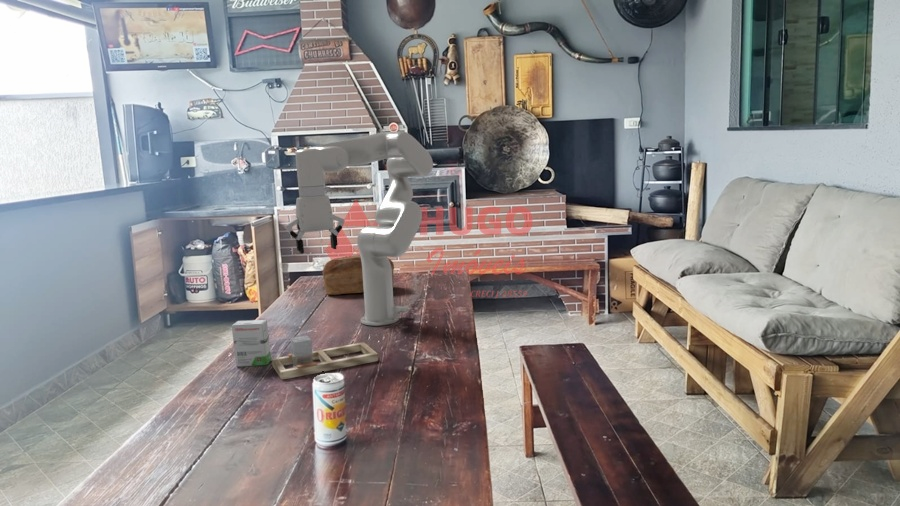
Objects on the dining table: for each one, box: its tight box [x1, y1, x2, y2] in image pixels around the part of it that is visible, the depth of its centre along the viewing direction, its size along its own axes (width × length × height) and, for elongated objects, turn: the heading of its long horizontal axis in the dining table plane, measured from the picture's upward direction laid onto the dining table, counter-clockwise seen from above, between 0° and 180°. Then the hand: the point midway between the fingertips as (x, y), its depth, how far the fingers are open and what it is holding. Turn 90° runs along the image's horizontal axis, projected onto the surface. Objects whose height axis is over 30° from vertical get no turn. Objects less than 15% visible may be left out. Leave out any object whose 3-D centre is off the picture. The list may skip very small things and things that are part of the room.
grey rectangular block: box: [289, 334, 314, 368], centre depth 171 cm, size 4×4×8 cm
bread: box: [322, 254, 395, 296], centre depth 256 cm, size 12×28×14 cm, turn 98°
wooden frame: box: [271, 341, 379, 380], centre depth 174 cm, size 26×12×2 cm, turn 116°
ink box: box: [231, 319, 272, 368], centre depth 176 cm, size 9×5×12 cm, turn 89°
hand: (317, 250), depth 188 cm, fingers open, 9 cm apart
